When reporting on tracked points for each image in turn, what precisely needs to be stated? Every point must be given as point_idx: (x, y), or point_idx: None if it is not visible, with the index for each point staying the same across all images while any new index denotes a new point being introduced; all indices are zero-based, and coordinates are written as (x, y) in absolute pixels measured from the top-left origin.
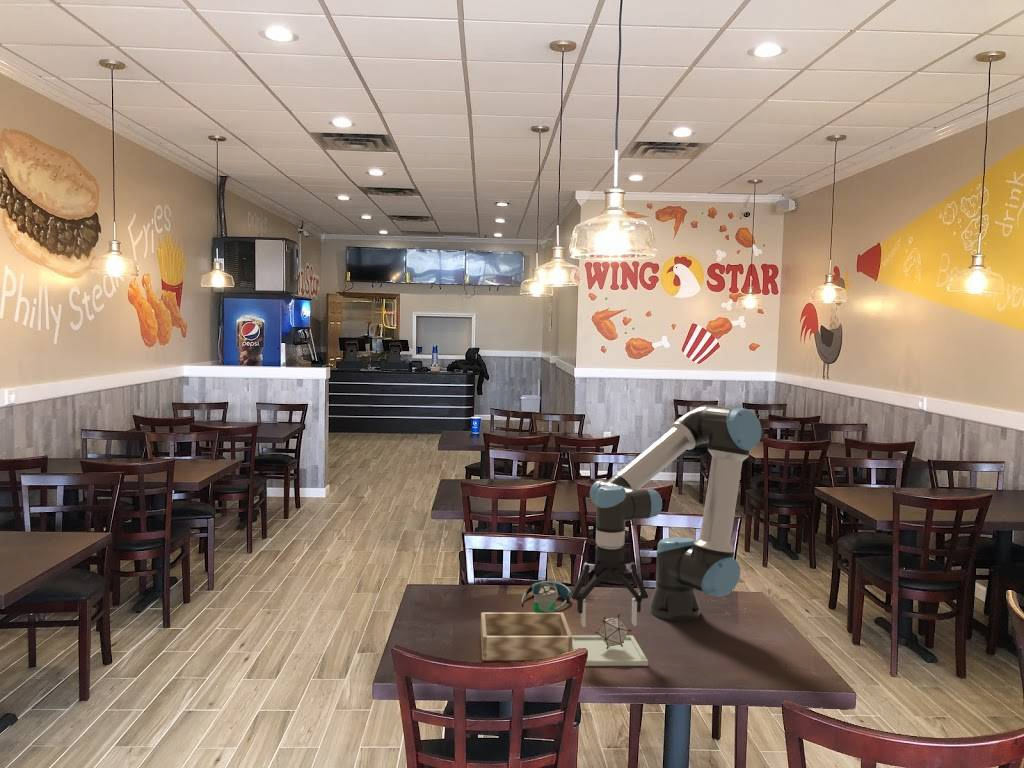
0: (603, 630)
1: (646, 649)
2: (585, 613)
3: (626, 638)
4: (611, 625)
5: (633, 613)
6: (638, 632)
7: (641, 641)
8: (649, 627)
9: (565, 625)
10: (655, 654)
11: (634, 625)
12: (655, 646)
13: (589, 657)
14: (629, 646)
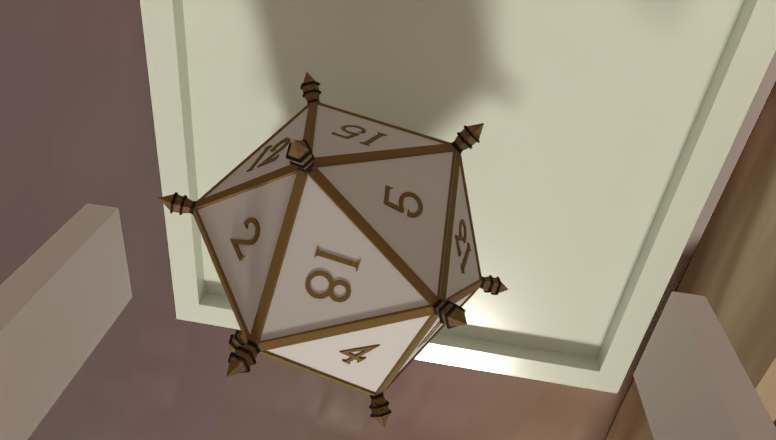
0: (458, 238)
1: (118, 153)
2: (734, 415)
3: (227, 301)
4: (377, 233)
5: (46, 316)
6: (139, 376)
7: (137, 270)
8: (71, 413)
9: (771, 407)
10: (59, 59)
11: (109, 208)
12: (51, 188)
13: (627, 48)
14: None
